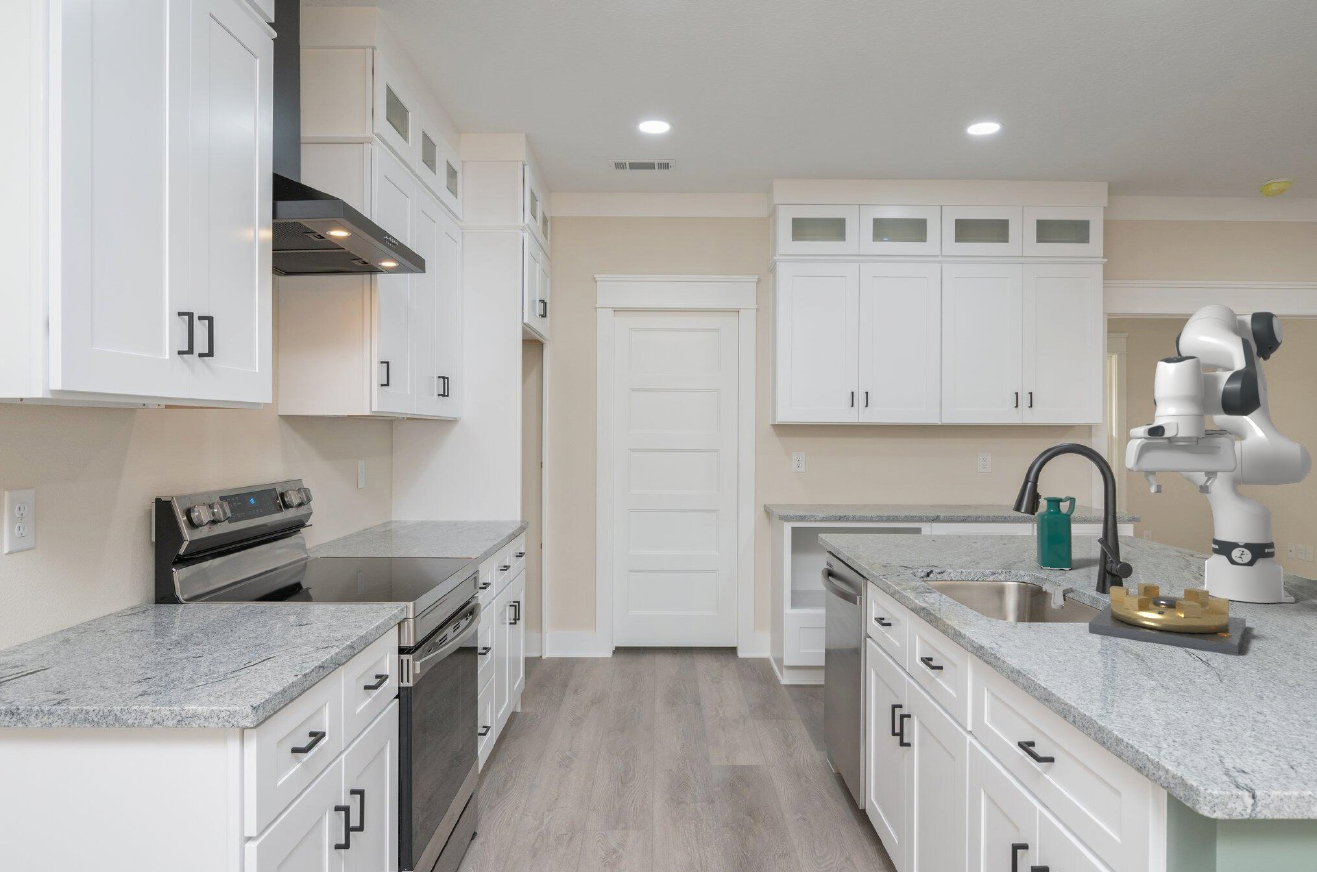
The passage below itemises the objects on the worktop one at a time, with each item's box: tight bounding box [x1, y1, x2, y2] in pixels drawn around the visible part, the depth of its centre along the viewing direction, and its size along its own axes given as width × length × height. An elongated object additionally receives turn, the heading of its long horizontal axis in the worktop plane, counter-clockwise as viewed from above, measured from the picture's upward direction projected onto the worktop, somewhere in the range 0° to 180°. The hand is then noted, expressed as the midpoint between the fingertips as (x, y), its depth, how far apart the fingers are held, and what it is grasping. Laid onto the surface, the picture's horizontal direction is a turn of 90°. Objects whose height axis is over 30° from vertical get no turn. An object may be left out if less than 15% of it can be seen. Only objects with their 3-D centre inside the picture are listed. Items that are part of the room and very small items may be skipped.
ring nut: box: [1109, 582, 1230, 633], centre depth 147 cm, size 20×20×6 cm
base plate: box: [1088, 602, 1247, 656], centre depth 147 cm, size 24×24×2 cm
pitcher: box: [1036, 495, 1077, 569], centre depth 216 cm, size 10×8×22 cm
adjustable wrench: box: [1042, 583, 1073, 610], centre depth 178 cm, size 25×6×2 cm, turn 146°
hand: (1180, 493), depth 153 cm, fingers open, 8 cm apart
